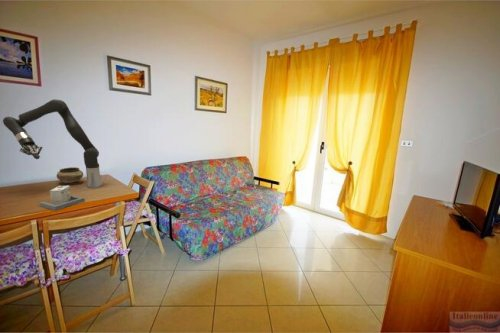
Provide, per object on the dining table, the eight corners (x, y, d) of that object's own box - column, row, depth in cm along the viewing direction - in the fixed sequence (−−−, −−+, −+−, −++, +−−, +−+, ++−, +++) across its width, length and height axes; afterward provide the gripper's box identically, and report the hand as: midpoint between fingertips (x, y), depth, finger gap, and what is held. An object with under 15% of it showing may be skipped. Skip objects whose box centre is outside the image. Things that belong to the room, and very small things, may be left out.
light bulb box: (60, 199, 155) (59, 185, 152) (71, 199, 156) (70, 185, 154) (51, 205, 144) (49, 190, 142) (62, 205, 146) (60, 190, 144)
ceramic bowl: (54, 185, 189) (46, 170, 183) (75, 176, 204) (69, 162, 197) (72, 190, 181) (65, 174, 174) (92, 180, 196) (86, 165, 189)
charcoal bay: (69, 197, 159) (69, 194, 159) (84, 201, 154) (84, 198, 154) (39, 205, 143) (39, 202, 142) (55, 210, 138) (54, 206, 137)
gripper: (14, 137, 149) (27, 156, 148) (38, 136, 161) (50, 154, 160) (11, 144, 152) (24, 163, 151) (34, 142, 164) (47, 160, 163)
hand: (38, 158), depth 155 cm, fingers closed
